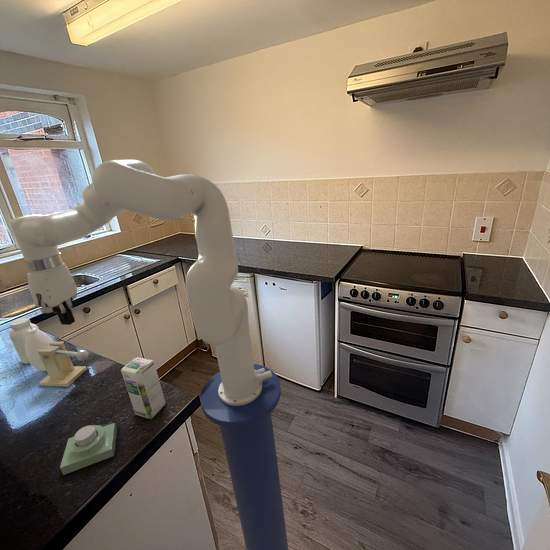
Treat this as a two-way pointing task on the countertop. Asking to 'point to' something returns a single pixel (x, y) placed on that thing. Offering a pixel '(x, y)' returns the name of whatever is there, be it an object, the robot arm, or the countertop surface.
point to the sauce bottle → (36, 347)
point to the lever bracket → (59, 367)
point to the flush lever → (70, 353)
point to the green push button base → (89, 449)
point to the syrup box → (143, 387)
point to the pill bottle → (20, 336)
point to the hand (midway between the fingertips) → (68, 323)
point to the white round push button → (85, 436)
